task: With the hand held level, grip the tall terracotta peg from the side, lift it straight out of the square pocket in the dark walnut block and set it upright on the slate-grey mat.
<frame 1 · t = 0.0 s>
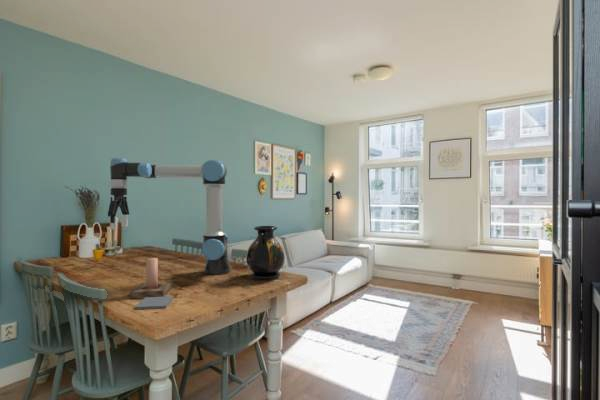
hand: (119, 227, 168), 28 cm above the table, tool pointing down, fingers open, 13 cm apart
terracotta peg: (152, 276, 147), in the walnut pocket block
amphora vase: (265, 277, 177), on the table
slate mat: (155, 303, 133), on the table
walnut pocket block: (152, 293, 147), on the table
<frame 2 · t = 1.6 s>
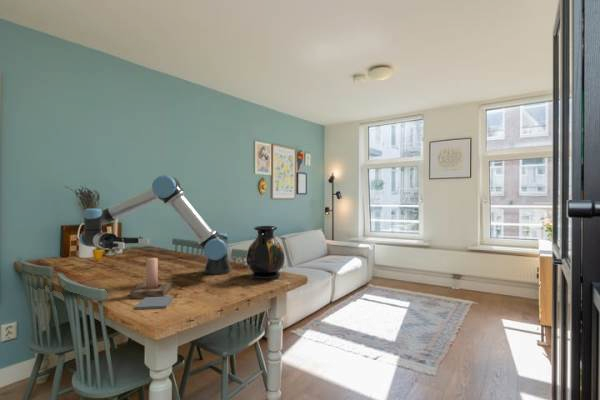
hand: (136, 243, 151), 22 cm above the table, tool horizontal, fingers open, 13 cm apart
nothing on the table moved.
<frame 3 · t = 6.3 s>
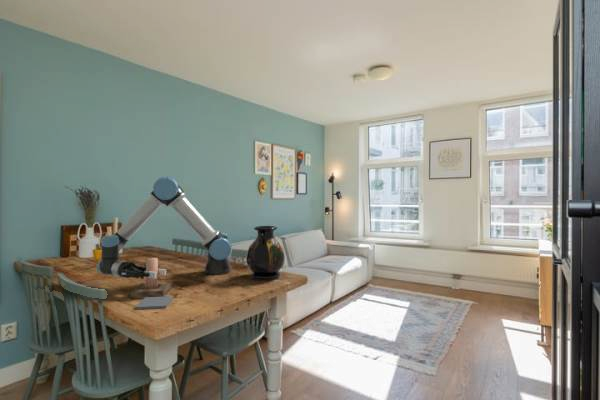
hand: (160, 273, 145), 10 cm above the table, tool horizontal, fingers closed on terracotta peg, 5 cm apart
terracotta peg: (152, 276, 147), in the walnut pocket block, touching gripper
everything else where it was.
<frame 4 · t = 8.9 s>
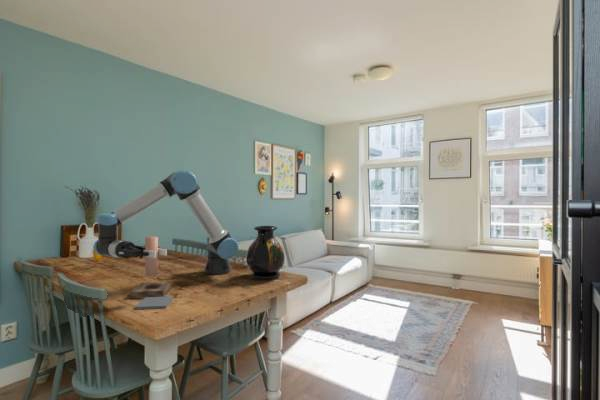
hand: (160, 253, 133), 21 cm above the table, tool horizontal, fingers closed on terracotta peg, 5 cm apart
terracotta peg: (151, 255, 136), point 20 cm above the table, touching gripper
everything else where it was.
when the fingers open (12 cm above the table, at t = 11.7 s): terracotta peg drops 1 cm, resting on slate mat.
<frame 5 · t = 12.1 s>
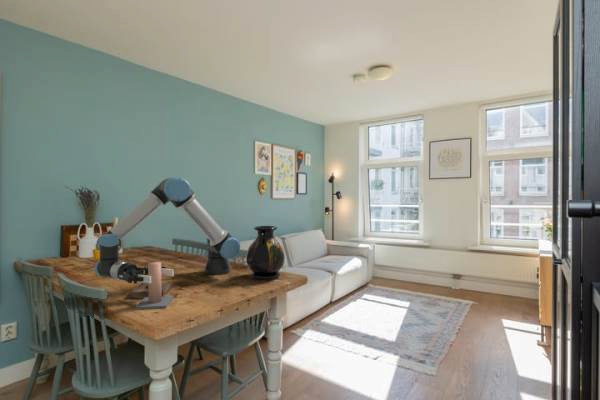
hand: (162, 276, 132), 12 cm above the table, tool horizontal, fingers open, 11 cm apart
terracotta peg: (154, 282, 133), on the slate mat, point 9 cm above the table
everything else where it was.
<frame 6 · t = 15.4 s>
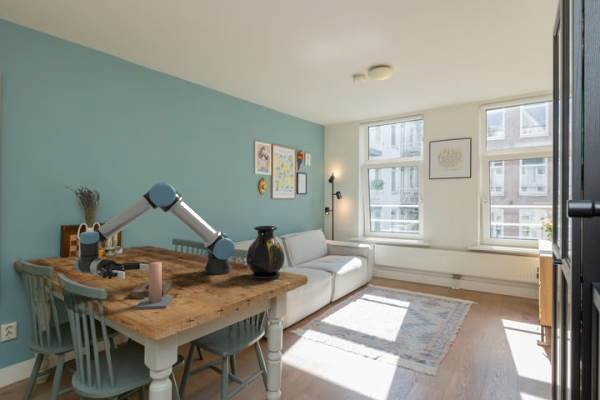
hand: (138, 271, 137), 13 cm above the table, tool horizontal, fingers open, 13 cm apart
nothing on the table moved.
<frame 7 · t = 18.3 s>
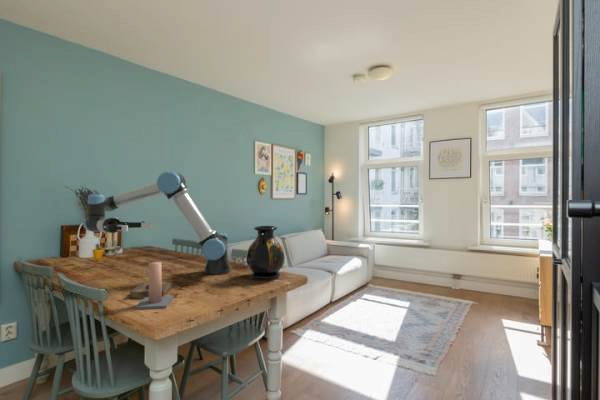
hand: (139, 227, 154), 30 cm above the table, tool horizontal, fingers open, 13 cm apart
nothing on the table moved.
at the end: terracotta peg inside the target area on the slate mat (0.0 cm from its centre), point 9.0 cm above the slate mat's base; terracotta peg tilted 1°; the gripper is holding nothing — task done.
